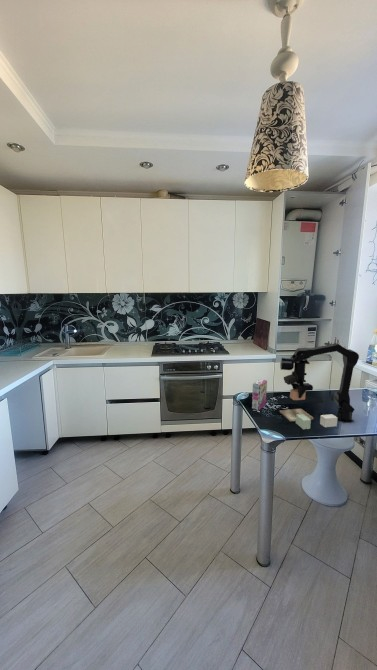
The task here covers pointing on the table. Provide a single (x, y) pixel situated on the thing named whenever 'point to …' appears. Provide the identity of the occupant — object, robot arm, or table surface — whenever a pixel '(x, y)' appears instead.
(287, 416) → the birch board
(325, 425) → the cream brick
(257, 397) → the candy bar box
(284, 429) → the table surface
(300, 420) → the sage brick
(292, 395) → the terracotta brick
